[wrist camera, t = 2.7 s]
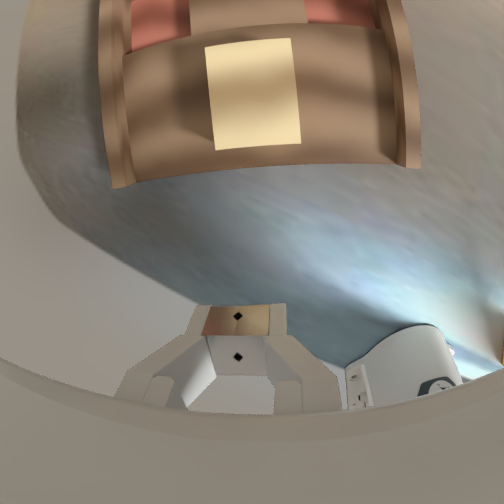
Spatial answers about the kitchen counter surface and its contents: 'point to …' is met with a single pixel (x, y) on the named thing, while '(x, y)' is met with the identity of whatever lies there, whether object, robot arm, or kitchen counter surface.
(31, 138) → the kitchen counter surface
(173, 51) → the box
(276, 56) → the maple block
